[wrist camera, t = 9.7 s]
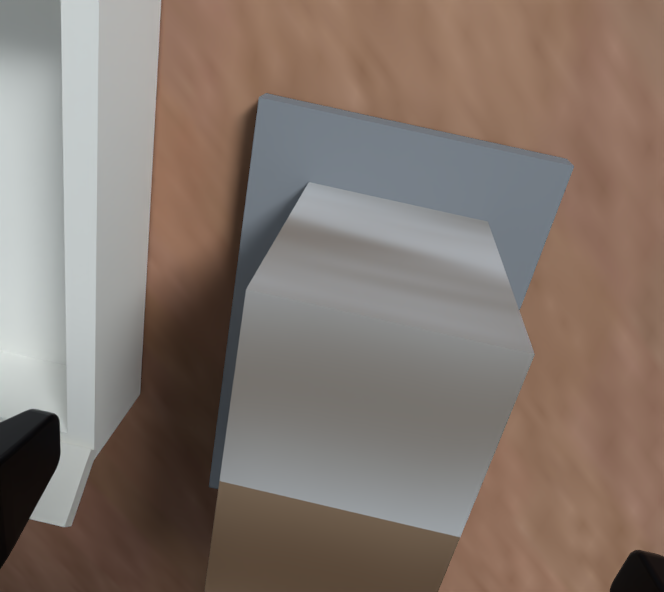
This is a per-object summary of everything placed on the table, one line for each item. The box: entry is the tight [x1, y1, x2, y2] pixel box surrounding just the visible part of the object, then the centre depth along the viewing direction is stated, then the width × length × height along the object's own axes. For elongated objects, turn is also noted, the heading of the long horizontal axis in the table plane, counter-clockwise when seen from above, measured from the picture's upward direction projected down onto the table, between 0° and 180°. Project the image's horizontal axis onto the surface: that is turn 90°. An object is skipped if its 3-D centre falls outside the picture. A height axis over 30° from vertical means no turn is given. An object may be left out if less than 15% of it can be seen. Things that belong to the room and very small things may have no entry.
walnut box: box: [204, 182, 535, 592], centre depth 11 cm, size 7×4×5 cm, turn 169°
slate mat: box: [209, 93, 574, 489], centre depth 14 cm, size 10×6×1 cm, turn 169°
